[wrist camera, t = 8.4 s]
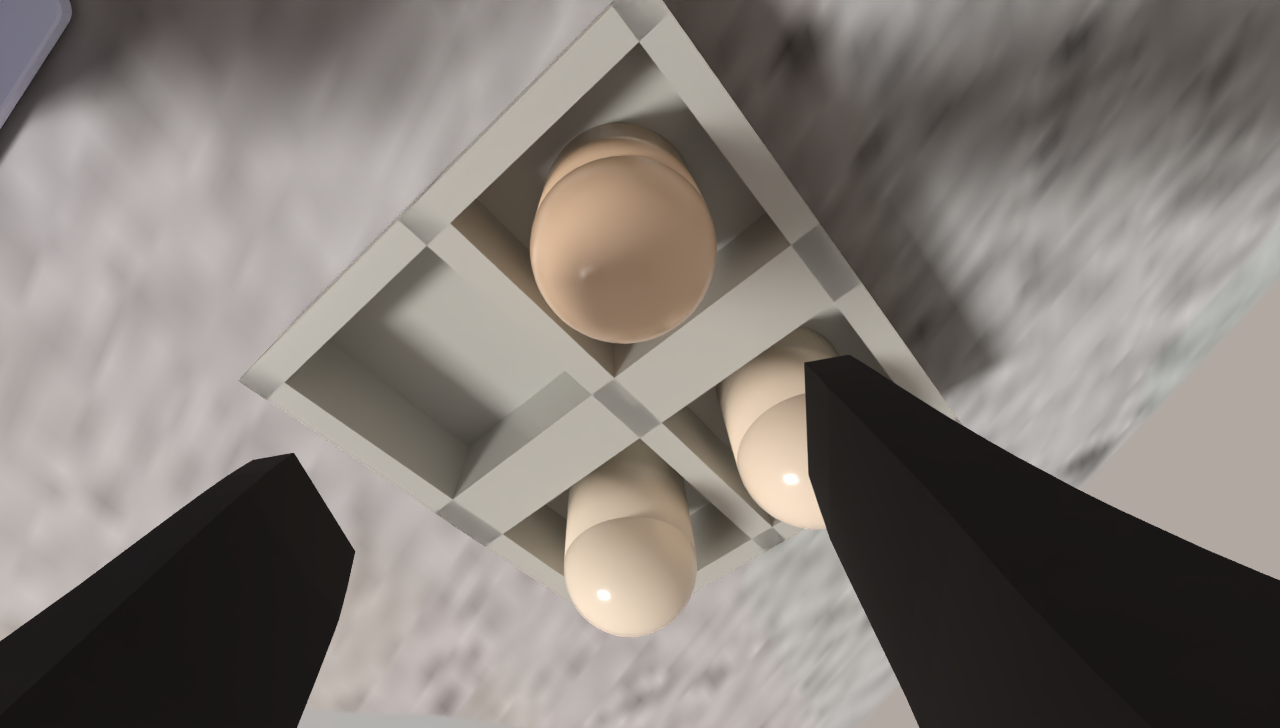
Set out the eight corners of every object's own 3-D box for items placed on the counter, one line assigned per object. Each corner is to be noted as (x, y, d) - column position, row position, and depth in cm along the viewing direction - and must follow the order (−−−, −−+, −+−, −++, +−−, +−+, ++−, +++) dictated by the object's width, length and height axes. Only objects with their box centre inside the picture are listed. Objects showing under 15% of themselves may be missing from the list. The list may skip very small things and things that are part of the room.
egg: (569, 286, 17) (556, 397, 13) (523, 145, 15) (487, 214, 11) (706, 253, 17) (746, 354, 12) (678, 105, 15) (713, 156, 10)
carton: (289, 326, 18) (238, 380, 16) (636, -23, 14) (643, -26, 11) (617, 568, 24) (618, 636, 22) (922, 378, 20) (968, 434, 18)
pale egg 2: (690, 376, 19) (720, 503, 14) (797, 300, 18) (867, 410, 13) (761, 449, 21) (808, 583, 16) (863, 384, 20) (946, 509, 15)
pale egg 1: (545, 480, 21) (529, 622, 16) (633, 417, 20) (642, 551, 15) (621, 538, 23) (625, 683, 18) (705, 484, 22) (735, 624, 17)
